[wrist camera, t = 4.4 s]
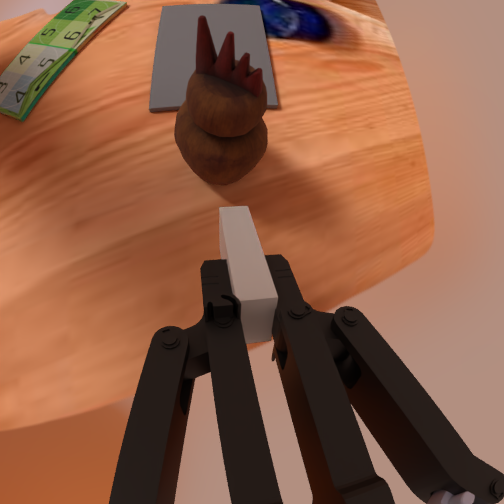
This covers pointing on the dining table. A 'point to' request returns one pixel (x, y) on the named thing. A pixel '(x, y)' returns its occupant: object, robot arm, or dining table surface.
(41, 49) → the green number grid board
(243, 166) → the wooden figurine
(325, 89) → the dining table surface
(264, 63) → the charcoal rubber mat
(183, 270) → the dining table surface
